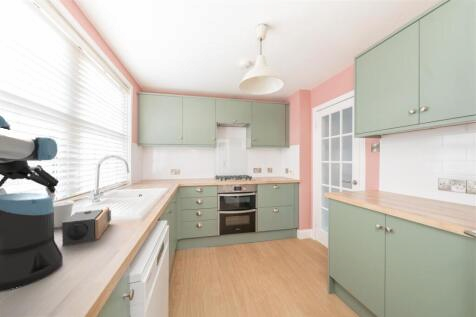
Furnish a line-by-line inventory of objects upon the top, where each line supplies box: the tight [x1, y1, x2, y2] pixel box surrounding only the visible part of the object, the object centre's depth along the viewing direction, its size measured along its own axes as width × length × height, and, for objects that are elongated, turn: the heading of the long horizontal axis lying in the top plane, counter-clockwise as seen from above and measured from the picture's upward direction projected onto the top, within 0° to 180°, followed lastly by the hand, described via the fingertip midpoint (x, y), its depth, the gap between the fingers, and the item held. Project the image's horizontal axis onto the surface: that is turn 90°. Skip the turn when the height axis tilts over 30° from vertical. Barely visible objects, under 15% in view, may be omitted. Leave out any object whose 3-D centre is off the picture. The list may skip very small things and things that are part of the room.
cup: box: [53, 200, 75, 229], centre depth 92 cm, size 10×10×11 cm
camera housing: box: [61, 209, 104, 247], centre depth 79 cm, size 16×10×10 cm, turn 24°
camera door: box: [95, 206, 112, 240], centre depth 85 cm, size 20×2×8 cm, turn 24°
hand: (31, 200), depth 77 cm, fingers open, 13 cm apart
